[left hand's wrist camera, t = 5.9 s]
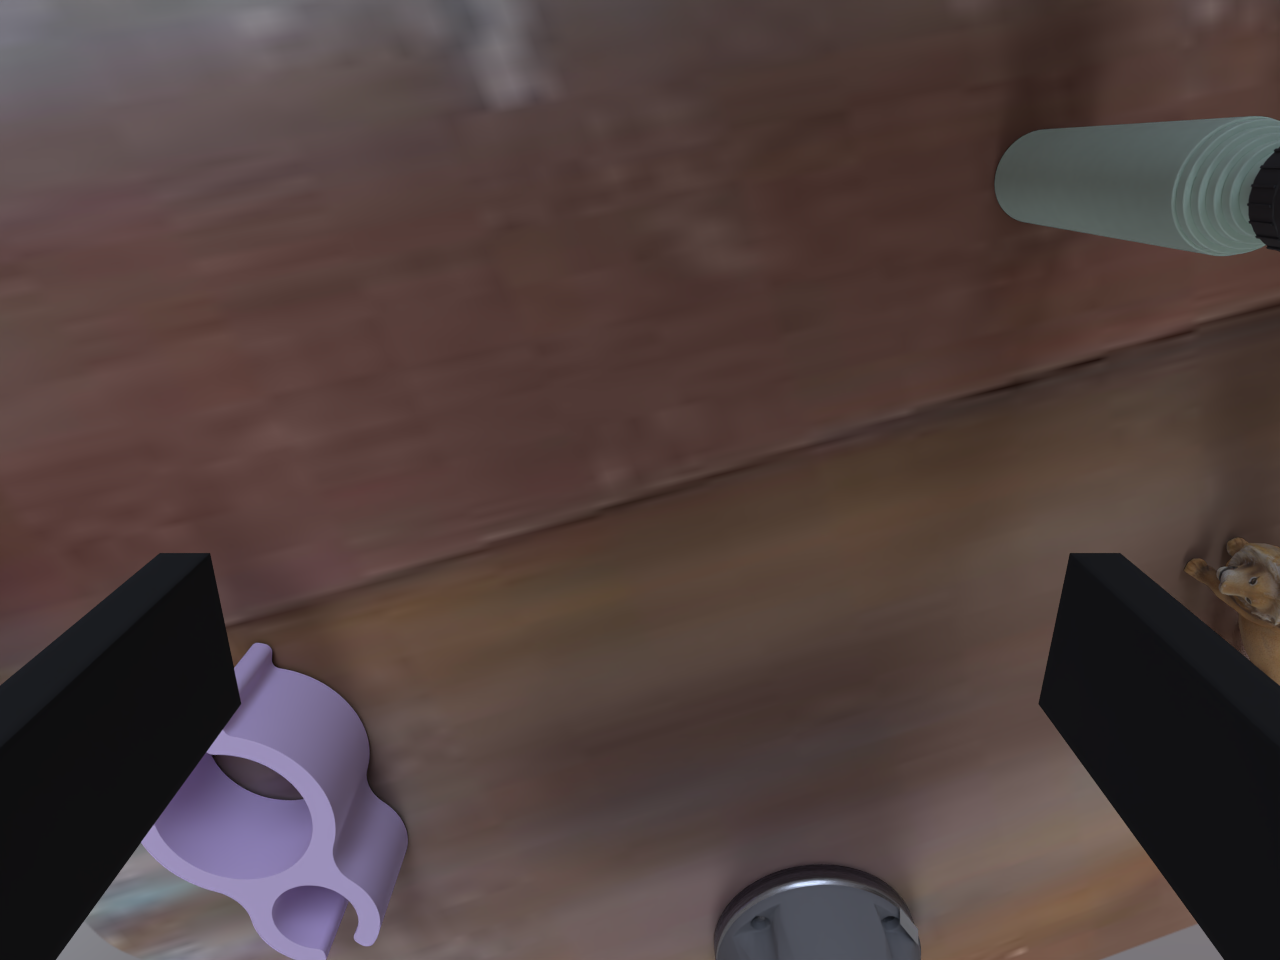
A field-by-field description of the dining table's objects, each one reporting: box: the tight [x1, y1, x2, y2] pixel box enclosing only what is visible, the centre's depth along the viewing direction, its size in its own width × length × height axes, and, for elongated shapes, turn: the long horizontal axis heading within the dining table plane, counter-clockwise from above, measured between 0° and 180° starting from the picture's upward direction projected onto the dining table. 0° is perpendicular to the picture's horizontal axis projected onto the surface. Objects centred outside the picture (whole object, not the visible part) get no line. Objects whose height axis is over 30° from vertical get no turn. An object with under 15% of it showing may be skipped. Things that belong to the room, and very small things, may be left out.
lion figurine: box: [1184, 537, 1280, 686], centre depth 49 cm, size 15×5×9 cm, turn 27°
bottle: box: [995, 116, 1280, 256], centre depth 35 cm, size 5×5×20 cm
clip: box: [141, 643, 408, 960], centre depth 55 cm, size 20×12×7 cm, turn 26°
